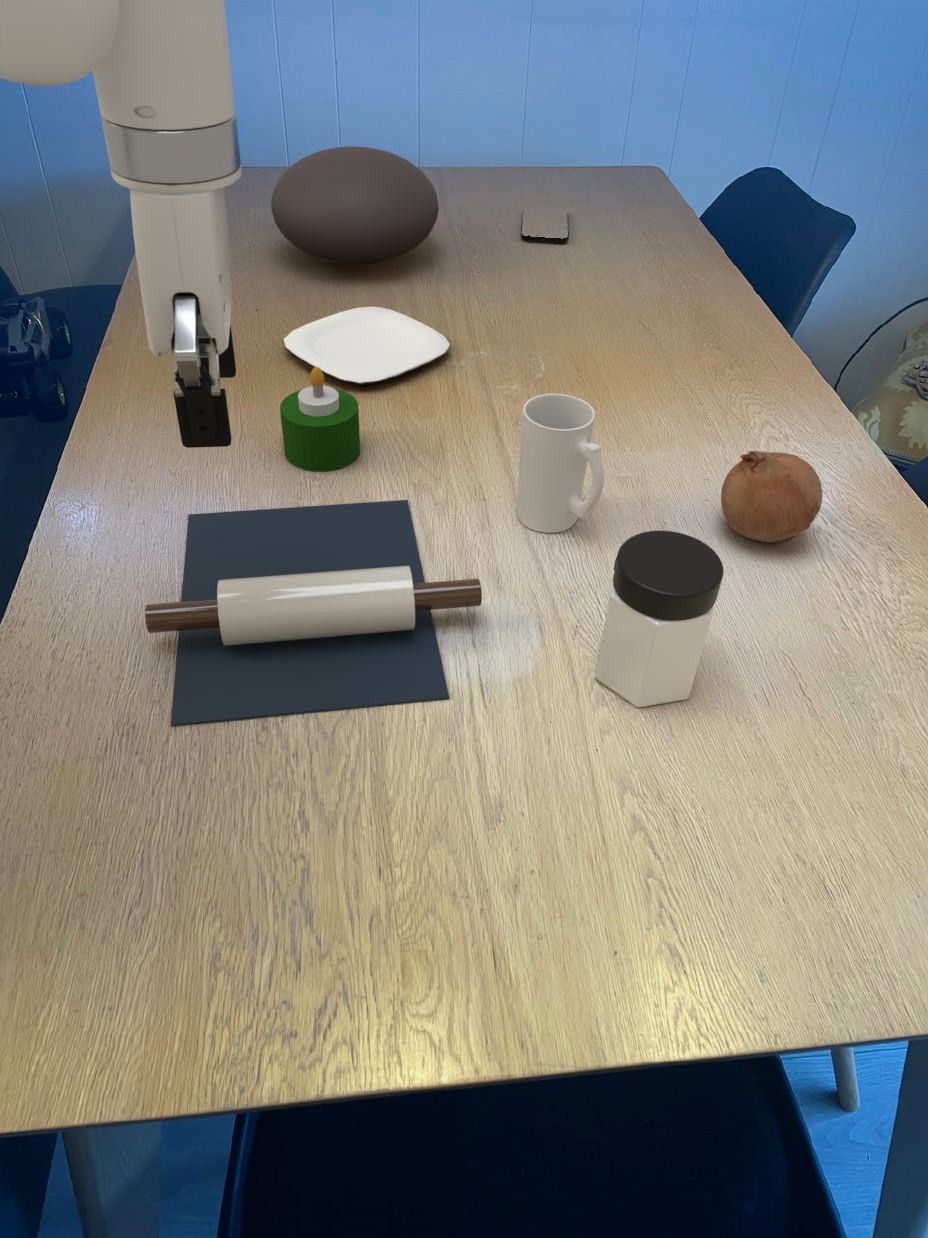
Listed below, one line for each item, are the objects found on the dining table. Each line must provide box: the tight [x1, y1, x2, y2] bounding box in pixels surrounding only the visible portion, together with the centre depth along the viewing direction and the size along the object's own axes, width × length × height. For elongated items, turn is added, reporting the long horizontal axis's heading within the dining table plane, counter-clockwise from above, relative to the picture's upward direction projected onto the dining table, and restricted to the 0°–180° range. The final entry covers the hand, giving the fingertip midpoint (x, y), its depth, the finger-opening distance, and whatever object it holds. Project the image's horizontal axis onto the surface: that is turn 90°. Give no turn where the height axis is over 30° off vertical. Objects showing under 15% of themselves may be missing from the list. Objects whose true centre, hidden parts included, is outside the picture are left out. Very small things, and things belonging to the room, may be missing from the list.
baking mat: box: [170, 499, 450, 727], centre depth 85 cm, size 28×22×1 cm
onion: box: [720, 450, 823, 544], centre depth 92 cm, size 10×9×10 cm
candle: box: [279, 367, 361, 473], centre depth 99 cm, size 8×8×10 cm
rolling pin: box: [144, 565, 483, 646], centre depth 79 cm, size 28×6×6 cm
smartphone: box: [520, 226, 570, 244], centre depth 156 cm, size 8×1×15 cm
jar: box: [594, 530, 725, 708], centre depth 75 cm, size 9×8×12 cm
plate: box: [283, 306, 451, 385], centre depth 120 cm, size 18×18×2 cm
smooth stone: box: [270, 145, 440, 266], centre depth 139 cm, size 25×25×15 cm
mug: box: [516, 393, 605, 534], centre depth 90 cm, size 10×7×12 cm, turn 37°
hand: (211, 408), depth 66 cm, fingers open, 9 cm apart
